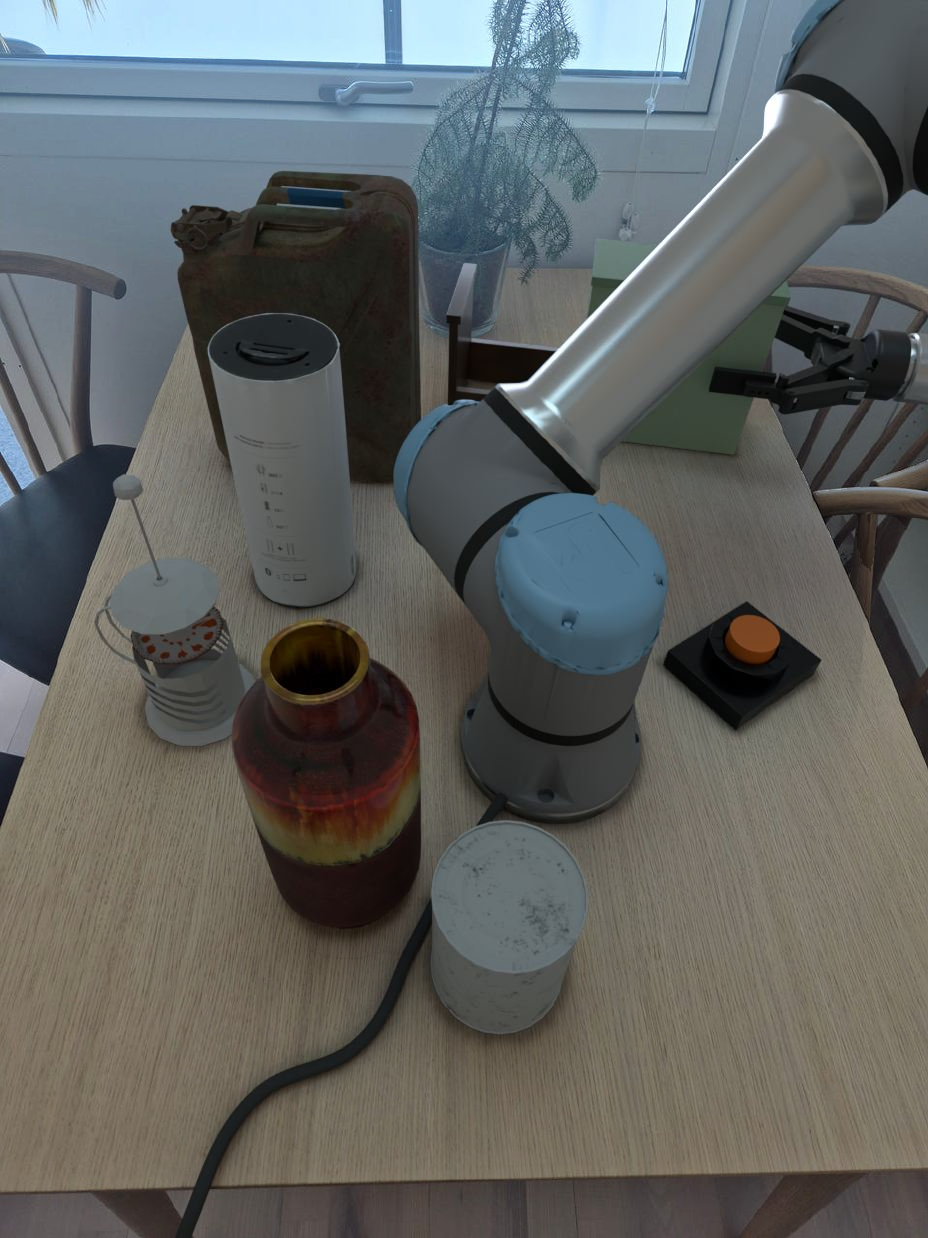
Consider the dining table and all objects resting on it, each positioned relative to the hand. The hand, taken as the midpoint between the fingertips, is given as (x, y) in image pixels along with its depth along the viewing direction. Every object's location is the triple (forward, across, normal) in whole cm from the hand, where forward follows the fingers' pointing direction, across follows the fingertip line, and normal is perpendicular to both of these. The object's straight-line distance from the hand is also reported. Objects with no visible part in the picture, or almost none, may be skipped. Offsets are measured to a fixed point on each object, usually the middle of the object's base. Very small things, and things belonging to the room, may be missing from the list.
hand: (708, 346), depth 95 cm
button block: (-4, -38, -11) cm, 40 cm away
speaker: (+39, -33, -11) cm, 53 cm away
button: (-4, -38, -7) cm, 39 cm away
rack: (+23, 0, -11) cm, 25 cm away
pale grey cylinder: (+15, -68, -11) cm, 71 cm away
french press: (+45, -50, -11) cm, 68 cm away
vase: (+27, -64, -11) cm, 70 cm away
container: (+43, -14, -11) cm, 46 cm away
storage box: (+4, 0, -11) cm, 12 cm away
